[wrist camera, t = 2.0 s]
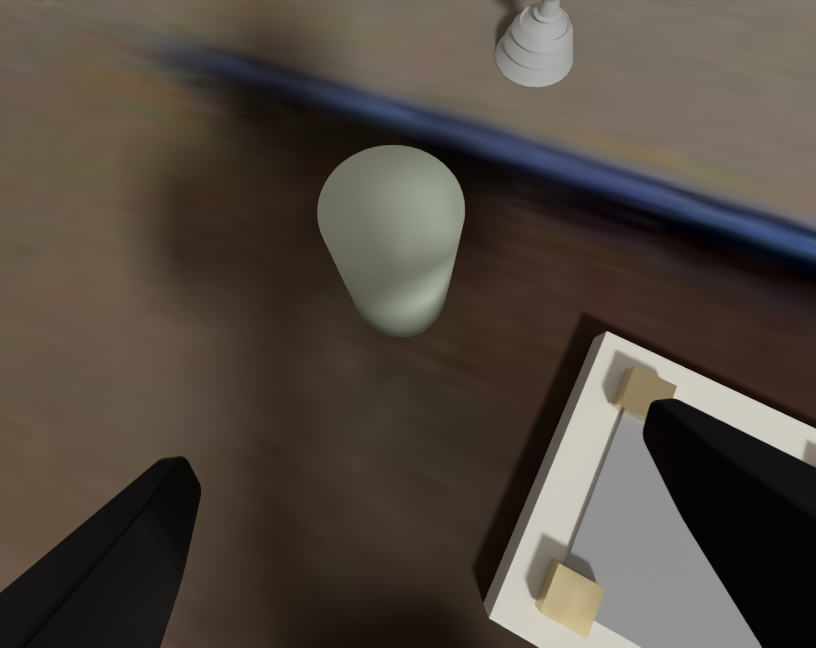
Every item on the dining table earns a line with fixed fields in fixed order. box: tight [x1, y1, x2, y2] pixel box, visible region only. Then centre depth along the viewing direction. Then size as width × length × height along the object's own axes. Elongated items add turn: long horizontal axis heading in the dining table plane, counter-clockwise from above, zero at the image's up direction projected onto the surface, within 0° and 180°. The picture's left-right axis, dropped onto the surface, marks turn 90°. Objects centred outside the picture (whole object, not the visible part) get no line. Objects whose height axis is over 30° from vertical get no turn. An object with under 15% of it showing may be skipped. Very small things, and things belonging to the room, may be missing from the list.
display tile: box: [483, 331, 816, 648], centre depth 18 cm, size 14×14×2 cm
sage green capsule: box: [317, 145, 465, 338], centre depth 18 cm, size 5×5×9 cm
